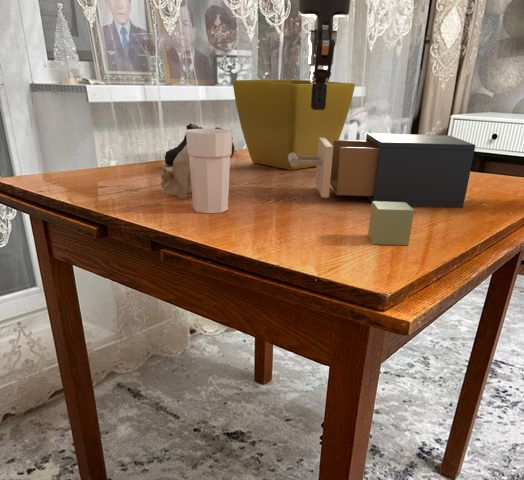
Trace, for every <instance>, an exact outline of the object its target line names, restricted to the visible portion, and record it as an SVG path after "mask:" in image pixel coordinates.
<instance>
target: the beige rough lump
mask: <svg viewBox="0 0 524 480" xmlns="http://www.w3.org/2000/svg"><path fill="white" fill-rule="evenodd" d="M160 179H161V181H160V186H161V188H162V189H163V191H164V192H165V195H173V196H174V197H175V196H176V197H177V198H178V199H179V200H186V199H187V195H188V194H192V186H191V174H190V162H189V154H188V152H187V144H186V146H185V147H184V148H183V150H182V151H181V152H179V153H178V155H177V157H176V158H175V159H174V161H173V165H172V166H164V167H163V171H161V172H160Z"/></svg>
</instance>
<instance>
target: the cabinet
mask: <svg viewBox="0 0 524 480" xmlns="http://www.w3.org/2000/svg"><path fill="white" fill-rule="evenodd" d="M365 141H372V142H373V143H375V144H376V145H377V146H379V154H378V162H377V170H376V178H375V186H374V195H373V196H365V197H366V198H367V200H368V201H369V202H370V203H371V204H372V201H380V202H406V203H407V204H408V205H409V206H410V207H415V208H416V207H417V208H419V207H420V208H452V209H453V208H455V209H456V208H457V209H463V208H464V205H465V200H466V196H467V191H468V185H469V181H470V180H469V179H470V175H471V171H472V170H471V169H472V165H473V160H474V155H475V150H476V144H474V143H471V142H469V141H466V140H463V139H461V138H457V137H455V136H452V135H445V134H444V135H442V134H441V135H440V134H411V133H409V134H407V133H406V134H405V133H375V132H367V133H366V137H365Z"/></svg>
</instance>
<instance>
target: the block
mask: <svg viewBox="0 0 524 480" xmlns="http://www.w3.org/2000/svg"><path fill="white" fill-rule="evenodd" d="M370 205H371V206H370V215H369V222H368V229H367V231H368V232H367V236H368V237H369V239H370V240H371V242H372V243H373V245H379V246H381V245H382V246H385V245H386V246H409V245H410V240H411V234H412V227H413V221H414V215H415V210H414V209H413V207H412V206H409V205H408V204H407V203H406V202H380V201H372V203H371V204H370Z"/></svg>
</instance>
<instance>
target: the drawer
mask: <svg viewBox="0 0 524 480" xmlns="http://www.w3.org/2000/svg"><path fill="white" fill-rule="evenodd" d="M378 154H379V146H377V145H376V144H375V143H373V142H372V141H366V140H359V139H357V140H354V139H339V140H333V146H332V145H331V144H330V143H329V141H328V140H327V139H326V138H319V140H318V154H317V156H297V155H296V154H295V153H293V152H292V153H290V154H289V155H288V159H289V162H290V165H291V166H292V167H297V166H298V164H305V165H317V166H316V169H315V181H314V182H315V187H316V188H317V190H318V193H319V195H320V197H321V198H325V199H326V198H330V189H331V188H332V189H333V191H334V193H335V195H336V196H355V197H356V196H359V197H366V196H373V195H374V186H375V178H376V170H377V162H378ZM316 160H317V161H316Z"/></svg>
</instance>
